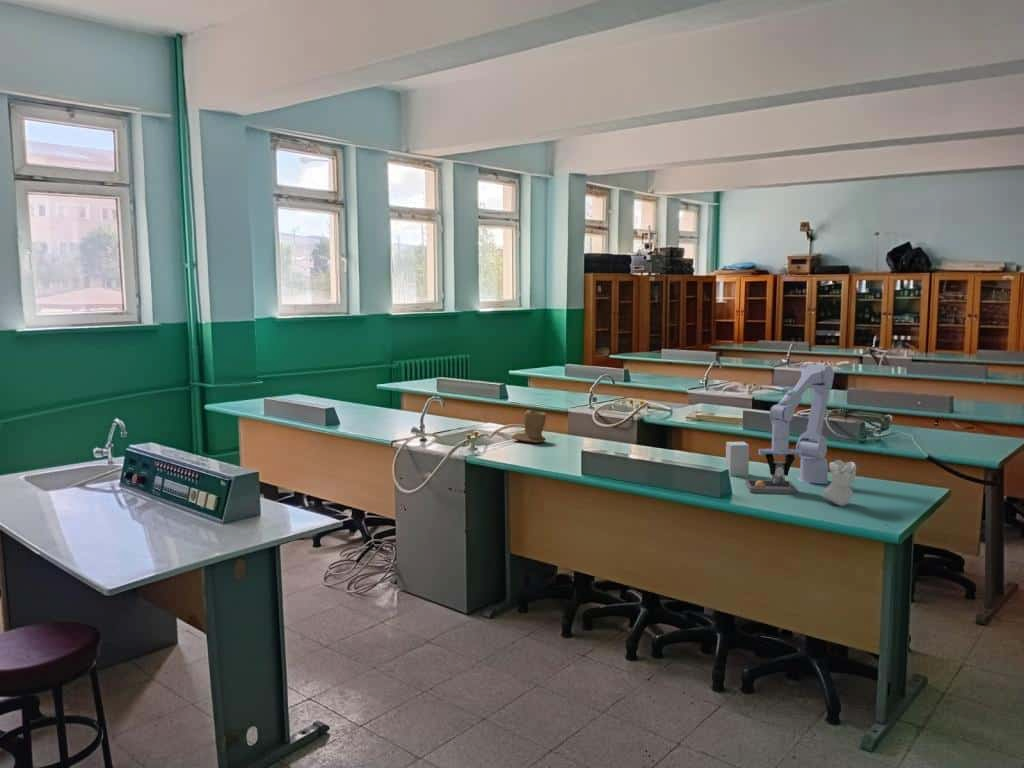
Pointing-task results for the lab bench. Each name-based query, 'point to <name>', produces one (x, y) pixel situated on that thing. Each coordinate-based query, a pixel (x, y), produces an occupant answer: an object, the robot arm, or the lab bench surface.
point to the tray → (771, 487)
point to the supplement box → (737, 458)
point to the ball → (760, 484)
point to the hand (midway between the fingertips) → (778, 474)
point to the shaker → (778, 472)
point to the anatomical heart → (841, 482)
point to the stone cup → (532, 427)
